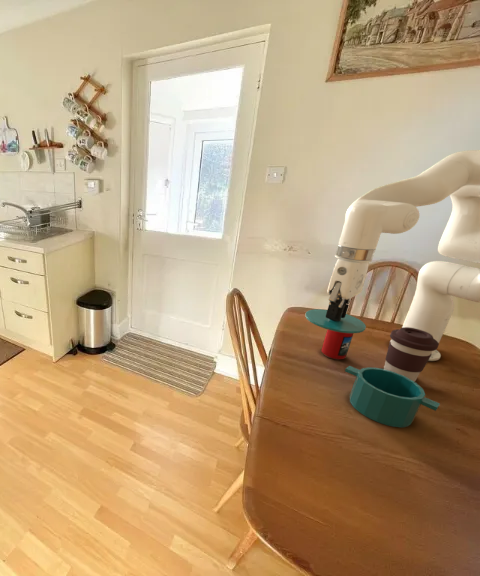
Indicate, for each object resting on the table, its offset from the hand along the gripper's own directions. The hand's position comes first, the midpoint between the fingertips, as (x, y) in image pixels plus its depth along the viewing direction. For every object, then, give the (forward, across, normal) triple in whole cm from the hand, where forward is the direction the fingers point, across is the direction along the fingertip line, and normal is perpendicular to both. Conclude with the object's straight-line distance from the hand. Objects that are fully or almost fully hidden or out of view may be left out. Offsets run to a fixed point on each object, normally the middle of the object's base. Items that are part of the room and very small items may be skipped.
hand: (335, 317), depth 86 cm
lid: (+1, 0, 0) cm, 1 cm away
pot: (+21, 0, -15) cm, 26 cm away
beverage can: (+21, +18, +3) cm, 28 cm away
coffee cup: (+21, +22, -13) cm, 33 cm away
